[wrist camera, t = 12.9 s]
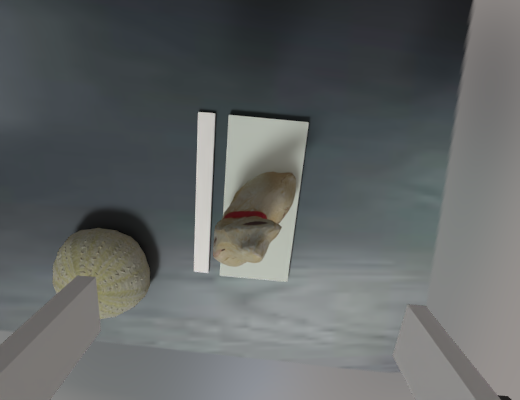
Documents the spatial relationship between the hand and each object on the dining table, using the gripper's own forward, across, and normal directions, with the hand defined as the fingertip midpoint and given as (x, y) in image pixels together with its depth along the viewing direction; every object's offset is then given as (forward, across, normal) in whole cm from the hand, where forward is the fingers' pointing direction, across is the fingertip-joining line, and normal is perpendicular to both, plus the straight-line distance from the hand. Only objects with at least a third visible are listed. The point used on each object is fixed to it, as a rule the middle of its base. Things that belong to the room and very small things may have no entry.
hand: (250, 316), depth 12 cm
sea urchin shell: (+17, -15, -9) cm, 24 cm away
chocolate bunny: (+16, 0, 0) cm, 16 cm away
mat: (+17, 0, 0) cm, 17 cm away
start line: (+17, -5, 0) cm, 17 cm away
